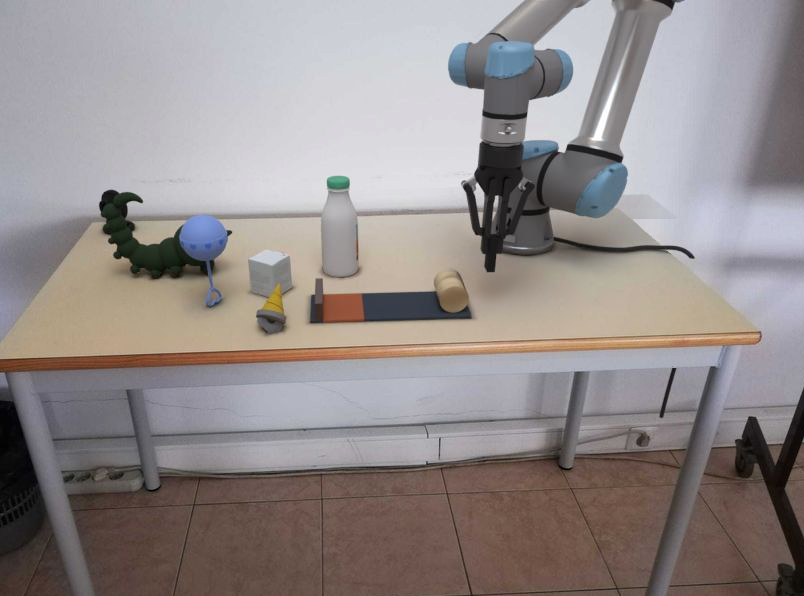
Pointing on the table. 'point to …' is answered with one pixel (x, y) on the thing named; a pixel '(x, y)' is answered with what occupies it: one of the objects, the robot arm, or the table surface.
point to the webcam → (108, 199)
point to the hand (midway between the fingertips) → (489, 269)
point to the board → (378, 306)
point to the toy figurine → (142, 255)
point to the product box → (270, 272)
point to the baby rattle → (204, 243)
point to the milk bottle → (339, 230)
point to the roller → (451, 290)
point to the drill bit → (272, 312)
